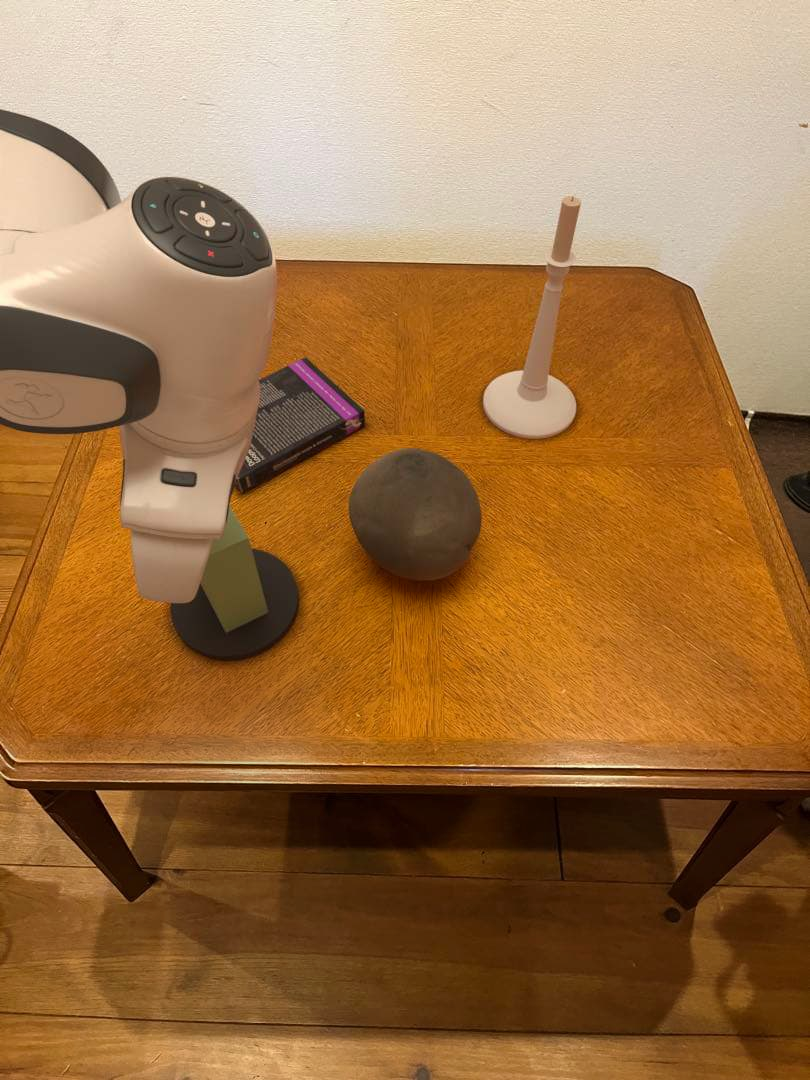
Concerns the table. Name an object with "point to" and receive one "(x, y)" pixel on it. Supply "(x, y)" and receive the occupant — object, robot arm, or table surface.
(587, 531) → the table surface
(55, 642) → the table surface
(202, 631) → the mat
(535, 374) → the candlestick
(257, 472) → the box
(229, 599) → the green box
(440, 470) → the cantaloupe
